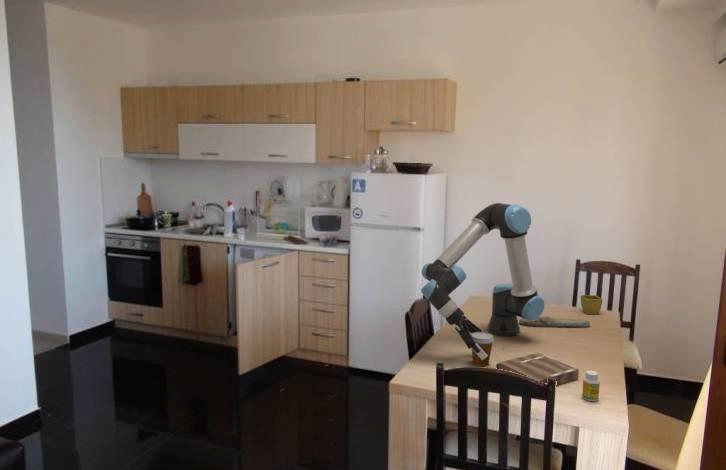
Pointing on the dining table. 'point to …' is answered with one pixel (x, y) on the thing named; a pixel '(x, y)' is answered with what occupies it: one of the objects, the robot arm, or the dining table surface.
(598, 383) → the supplement bottle
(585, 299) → the flower pot
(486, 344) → the disposable coffee cup
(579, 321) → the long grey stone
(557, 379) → the dock
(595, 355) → the dining table surface
